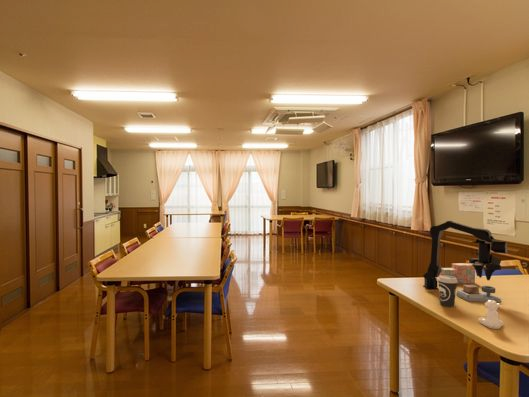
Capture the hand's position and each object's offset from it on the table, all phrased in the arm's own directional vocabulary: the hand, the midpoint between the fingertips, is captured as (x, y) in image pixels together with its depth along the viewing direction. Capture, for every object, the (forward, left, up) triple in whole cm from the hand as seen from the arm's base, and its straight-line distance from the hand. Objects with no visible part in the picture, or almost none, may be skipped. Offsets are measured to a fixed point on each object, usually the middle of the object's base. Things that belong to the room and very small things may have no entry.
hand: (484, 278), depth 182 cm
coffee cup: (-28, -11, -11) cm, 32 cm away
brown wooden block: (-7, 0, -10) cm, 12 cm away
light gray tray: (-4, 0, -11) cm, 12 cm away
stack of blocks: (+5, +34, -11) cm, 36 cm away
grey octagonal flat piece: (+2, 0, -7) cm, 8 cm away
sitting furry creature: (-24, -39, -11) cm, 47 cm away
